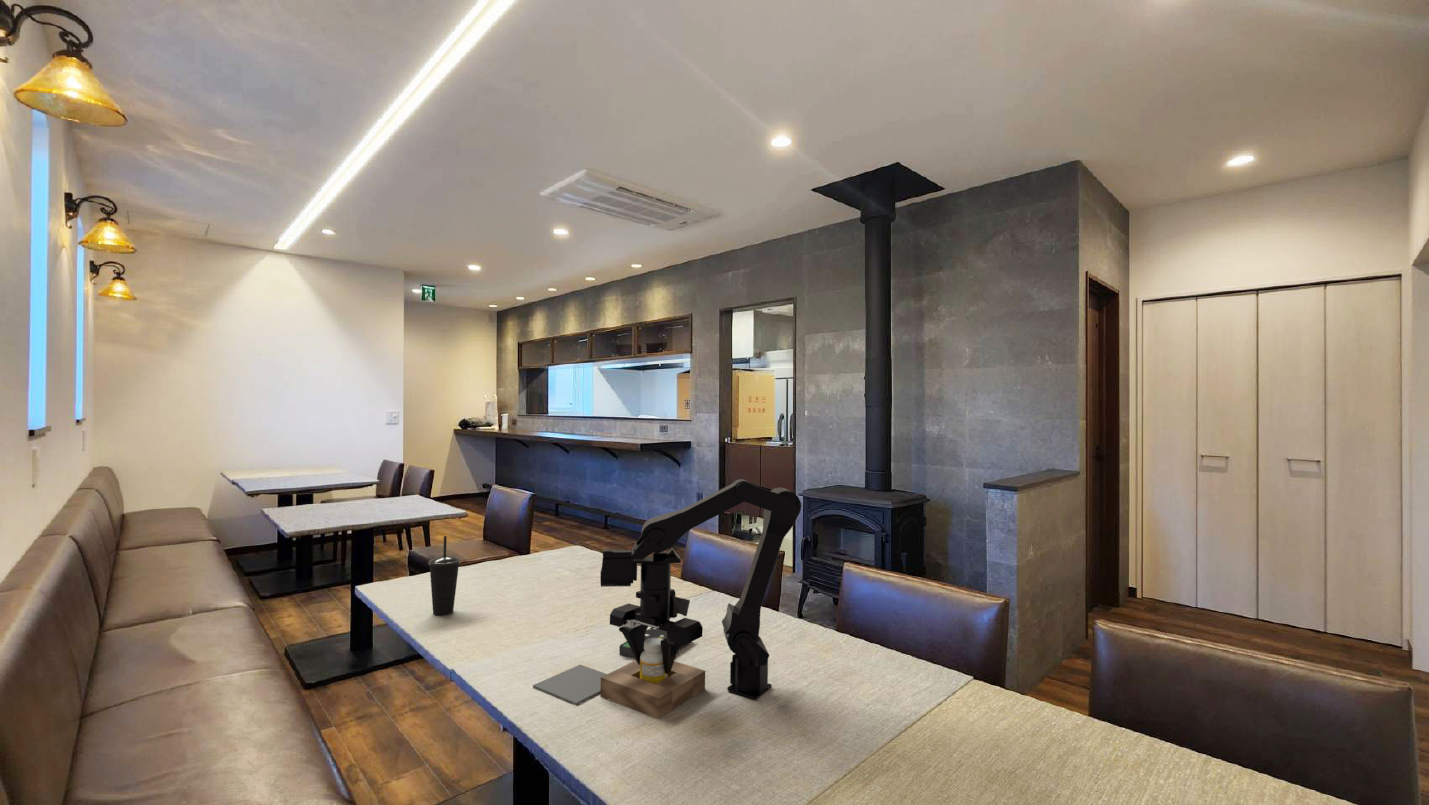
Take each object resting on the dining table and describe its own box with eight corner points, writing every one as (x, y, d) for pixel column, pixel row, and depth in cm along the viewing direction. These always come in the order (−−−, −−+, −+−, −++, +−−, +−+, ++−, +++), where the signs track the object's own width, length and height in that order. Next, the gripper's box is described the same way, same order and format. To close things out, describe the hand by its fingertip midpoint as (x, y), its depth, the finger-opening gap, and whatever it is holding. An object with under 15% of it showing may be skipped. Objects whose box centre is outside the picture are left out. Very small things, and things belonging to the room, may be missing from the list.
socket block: (704, 689, 114) (705, 670, 114) (658, 719, 102) (658, 698, 102) (649, 670, 122) (649, 653, 122) (600, 696, 110) (600, 677, 110)
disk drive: (654, 636, 143) (618, 657, 129) (654, 624, 143) (618, 644, 129) (692, 644, 138) (658, 667, 125) (692, 632, 138) (658, 653, 125)
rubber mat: (622, 681, 116) (622, 679, 116) (576, 705, 107) (576, 703, 107) (580, 666, 123) (580, 664, 123) (532, 687, 113) (533, 685, 113)
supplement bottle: (658, 702, 108) (659, 649, 109) (633, 696, 111) (634, 644, 111) (672, 690, 113) (673, 639, 114) (648, 684, 116) (649, 634, 116)
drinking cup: (427, 610, 157) (429, 534, 158) (458, 606, 161) (460, 532, 161) (426, 619, 150) (428, 540, 151) (459, 615, 154) (461, 537, 154)
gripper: (719, 584, 114) (718, 666, 113) (646, 569, 124) (644, 644, 124) (684, 598, 105) (683, 687, 104) (608, 581, 115) (606, 662, 115)
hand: (654, 668), depth 112 cm, fingers open, 6 cm apart
